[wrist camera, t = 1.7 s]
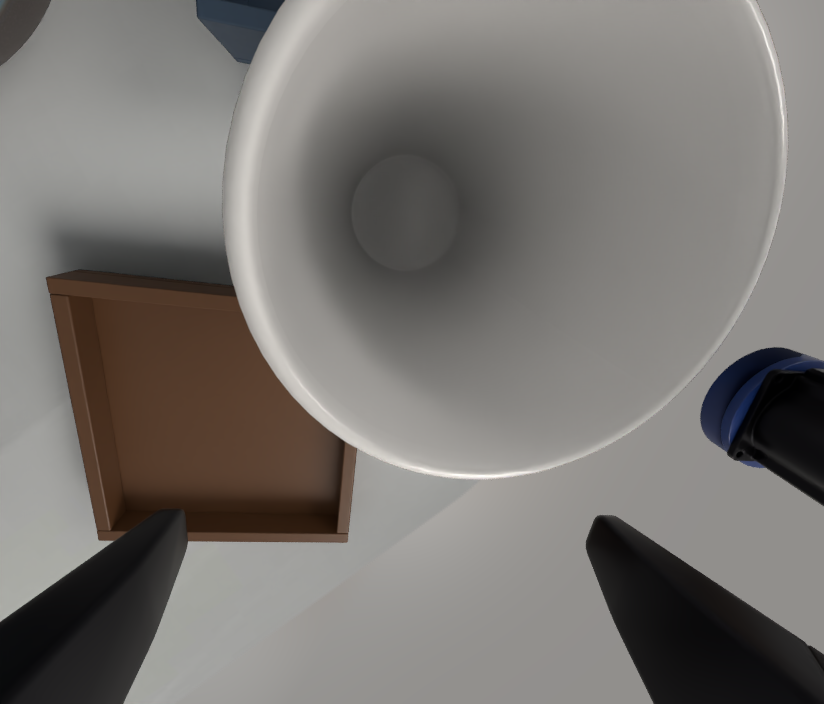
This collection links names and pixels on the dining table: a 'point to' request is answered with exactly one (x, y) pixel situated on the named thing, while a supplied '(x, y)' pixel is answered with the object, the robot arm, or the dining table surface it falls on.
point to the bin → (238, 23)
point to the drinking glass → (500, 216)
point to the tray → (192, 415)
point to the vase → (18, 23)
